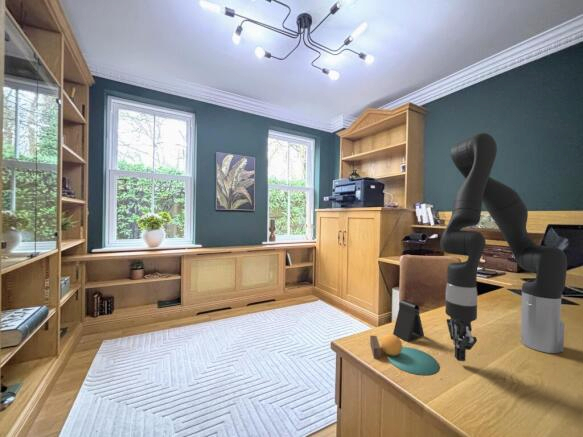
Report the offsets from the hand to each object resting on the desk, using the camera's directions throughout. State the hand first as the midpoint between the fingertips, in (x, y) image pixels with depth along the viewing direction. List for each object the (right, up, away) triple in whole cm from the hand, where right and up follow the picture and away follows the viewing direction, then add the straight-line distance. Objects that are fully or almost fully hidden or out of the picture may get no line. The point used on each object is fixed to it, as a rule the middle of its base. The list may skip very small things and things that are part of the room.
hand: (459, 359), depth 73 cm
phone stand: (-7, -1, +17) cm, 19 cm away
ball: (-18, +2, +5) cm, 18 cm away
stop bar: (-22, -1, +7) cm, 23 cm away
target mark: (-13, -1, +2) cm, 13 cm away
